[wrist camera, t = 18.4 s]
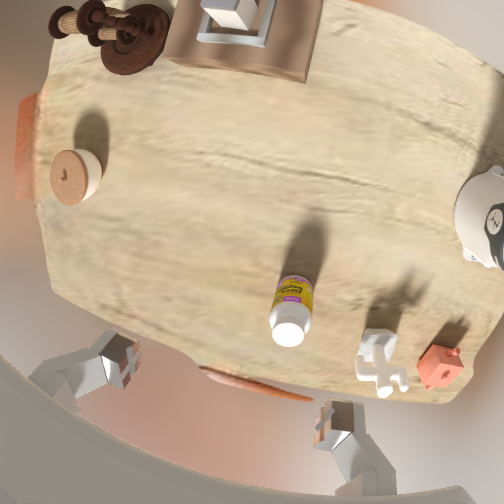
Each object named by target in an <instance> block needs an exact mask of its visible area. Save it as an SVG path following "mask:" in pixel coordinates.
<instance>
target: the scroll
mask: <svg viewBox="0 0 504 504" xmlns="http://www.w3.org/2000/svg"><path fill="white" fill-rule="evenodd" d="M169 28H170V20H169V17H168V15H167V14H166V13H165V12H164V11H163V10H162V9H161V8H159V7H157V6H155V5H151V4H142V5H137V6H134V7H132V8H130V9H128V10H126V11H122V10H119V9H116V8H111V7H105V5H104V3H103V2H102V1H101V0H89V1H87V2H86V3H84V4H83V5H82V6H81V8H80V9H79V10H75V9H74V8H72V7H71V6H63V7H60V8H58V9H57V10H56V11H55V12H54V13H53V14H52V16H51V18H50V21H49V25H48V29H49V33H50V35H51V36H52V37H53V38H55V39H62V38H65V37H67V36H68V35H69V34H73V33H75V34H78V33H81V34H83V35H88V41H89V43H90V44H91V45H92V46H94V47H99V46H101V59H102V62H103V64H104V66H105V67H106V68H107V69H108V70H109V71H111V72H112V73H115V74H119V75H131V74H134V73H137V72H140V71H142V70H143V69H145V68H147V67H148V66H152V63H153V62H154V61H155V60H156V59H157V58H158V57H159V55H160V54H161V53H162V51H163V50H164V47H165V43H166V39H167V36H168V32H169Z"/></svg>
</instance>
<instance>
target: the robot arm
mask: <svg viewBox="0 0 504 504" xmlns="http://www.w3.org/2000/svg"><path fill="white" fill-rule="evenodd" d="M454 223H455V229H456V232H457V235H458V237H459V239H460V241H461V244H462V255H463V257H464V258H465V259H466V260H468V261H476V262H481V263H483V264H484V265H485V266H486V267H488V268H489V267H490V266H491V267H499V268H500V269H501V270H502V271H503V272H504V170H503V169H502V167H500V166H498V165H493V166H492V167H491V168H490V169H489V170H488V171H487V172H485V173H482V174H479V175H476V176H474V177H472V178H471V179H470V180H469V181H468V182H467V183H466V184H465V185H464V187H463V188H462V190H461V191H460V193H459V196H458V198H457V201H456V205H455V212H454ZM140 347H141V345H140V341H138V340H136V339H134V338H132V337H129V336H127V335H125V334H123V333H121V332H119V331H117V330H115V329H112V328H108V329H106V331H105V332H104V333H103V334H102V335H101V336H100V337H99V338H98V339H97V340H96V342H95V343H94V344H93V345H92V346H91V347H90V348H89V349H87V348H85V349H81V350H78V351H75V352H71V353H68V354H65V355H61V356H59V357H55V358H51V359H48V360H45V361H43V362H42V363H41V364H40V365H39V366H38V367H37V368H36V369H35V370H34V372H33V373H32V374H31V375H30V376H29V377H28V378H27V377H26V376H24V375H23V374H22V373H21V372H20V371H18V370H17V369H16V368H15V367H14V366H13V365H12V364H11V363H9V362H8V361H7V360H6V359H5V358H4V357H3V356H2V355H1V354H0V504H476V503H475V501H474V500H473V498H472V497H471V496H470V495H469V494H468V493H467V492H466V490H465V489H463V488H462V487H461V486H452V487H447V488H442V489H437V490H431V491H425V492H417V493H409V494H399V495H397V488H396V470H395V469H394V468H393V466H392V465H391V464H390V462H389V461H388V460H387V458H386V457H385V456H384V454H383V453H382V451H381V450H380V449H379V447H378V446H377V445H376V443H375V442H374V441H373V439H372V438H371V437H370V435H369V434H366V427H365V414H364V405H363V403H360V402H352V401H347V400H341V399H334V398H329V399H328V400H327V401H326V402H325V407H322V408H321V409H320V411H319V412H318V415H317V418H316V422H315V428H316V430H317V431H318V432H317V433H316V434H315V435H314V446H313V448H314V449H321V450H327V451H332V455H333V457H334V458H335V461H336V463H337V464H338V467H339V469H340V470H341V472H342V474H343V476H344V478H345V480H346V482H347V483H346V484H345V485H343V486H341V487H340V488H338V489H337V490H336V491H335V496H327V495H314V494H304V493H294V492H288V491H280V490H275V489H269V488H264V487H258V486H254V485H249V484H244V483H240V482H236V481H232V480H228V479H224V478H220V477H217V476H214V475H210V474H207V473H204V472H200V471H197V470H194V469H191V468H189V467H186V466H183V465H180V464H177V463H175V462H172V461H169V460H167V459H164V458H162V457H159V456H157V455H154V454H152V453H150V452H148V451H145V450H143V449H141V448H139V447H137V446H134V445H132V444H130V443H128V442H126V441H124V440H122V439H120V438H118V437H116V436H114V435H112V434H111V433H109V432H107V431H105V430H103V429H102V428H100V427H98V426H96V425H94V424H93V423H91V422H89V421H88V420H86V419H85V418H83V417H81V416H80V415H78V413H79V411H80V406H79V404H78V402H77V400H76V398H78V397H80V396H82V395H84V394H86V393H88V392H90V391H92V390H94V389H97V388H98V387H100V386H102V385H105V384H107V383H108V382H109V383H111V384H113V385H115V386H117V387H119V388H121V389H125V387H126V386H127V385H128V383H129V381H130V380H131V377H130V374H133V373H135V372H136V371H137V369H138V368H139V365H140V363H141V358H142V357H141V353H140V351H139V348H140Z"/></svg>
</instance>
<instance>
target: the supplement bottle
mask: <svg viewBox="0 0 504 504" xmlns="http://www.w3.org/2000/svg"><path fill="white" fill-rule="evenodd" d="M312 308H313V288H312V285H311V283H310V282H309V281H308V280H307V279H306V278H304V277H302V276H298V275H291V276H287V277H285V278H283V279H282V280H281V281H280V282H279V284H278V286H277V289H276V293H275V297H274V301H273V305H272V309H271V312H270V316H269V322H270V325H271V327H272V329H273V331H272V336H273V338H274V340H275V341H276V342H277V343H278V344H280V345H282V346H286V347H292V346H296V345H298V344H300V343H301V342H302V341H303V339H304V334H305V333H306V332H307V331H308V330H309V328H310V327H311V324H312Z"/></svg>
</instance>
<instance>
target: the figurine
mask: <svg viewBox="0 0 504 504" xmlns="http://www.w3.org/2000/svg"><path fill="white" fill-rule="evenodd" d="M397 337H398V334H396V333H394V332H392V331H390V330H388V329H366V330H365V332H364V334H363V336H362V340H361V344H360V348H359V352H358V355H357V357H356V359H355V367H356V375H357V378H358V379H359V380H374V381H375V382H376V390H377V394H378V396H379V397H380V398H385V397H388V396H389V394H391V393H392V391H393V386H392V382H391V380H397V381H398V383H399V387H400V390H401V391H402V392H405V391H406V390H407V389H408V388H409V380H408V377H407V373H406V370H405V368H404V367H403V366H401V365H396V366H390V365H388V364H387V362H389V360H390V357H391V355H392V352H393V349H394V346H395V343H396V340H397ZM365 362H373V366H367V365H366V364H365Z"/></svg>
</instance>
